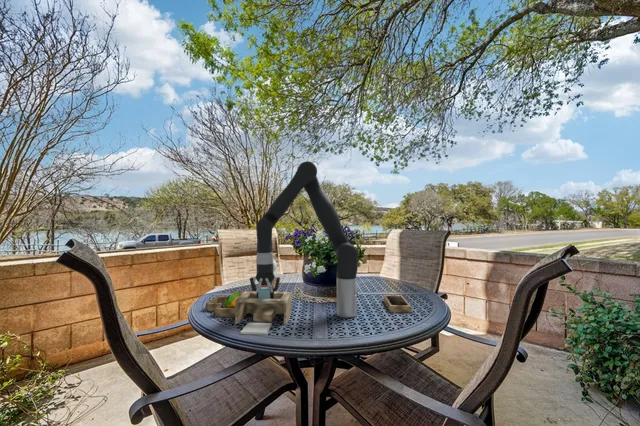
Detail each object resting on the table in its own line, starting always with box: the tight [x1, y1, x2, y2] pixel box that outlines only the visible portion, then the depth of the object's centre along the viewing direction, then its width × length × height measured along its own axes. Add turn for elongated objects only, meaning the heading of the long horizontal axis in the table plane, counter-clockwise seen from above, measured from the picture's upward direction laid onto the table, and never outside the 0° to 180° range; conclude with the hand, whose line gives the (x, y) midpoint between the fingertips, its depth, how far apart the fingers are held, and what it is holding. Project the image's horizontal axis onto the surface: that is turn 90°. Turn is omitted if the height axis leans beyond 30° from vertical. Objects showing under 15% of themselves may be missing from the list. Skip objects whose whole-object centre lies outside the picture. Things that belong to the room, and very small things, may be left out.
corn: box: [223, 291, 244, 308], centre depth 145 cm, size 7×8×20 cm
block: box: [258, 287, 270, 304], centre depth 129 cm, size 5×5×6 cm
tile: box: [240, 322, 273, 336], centre depth 116 cm, size 10×10×1 cm
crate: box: [234, 291, 292, 325], centre depth 129 cm, size 22×14×10 cm, turn 87°
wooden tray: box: [383, 294, 412, 313], centre depth 147 cm, size 10×19×3 cm, turn 177°
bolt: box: [387, 296, 407, 306], centre depth 146 cm, size 6×5×15 cm
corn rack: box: [205, 295, 235, 318], centre depth 145 cm, size 28×28×4 cm
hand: (265, 300), depth 129 cm, fingers closed on block, 5 cm apart
